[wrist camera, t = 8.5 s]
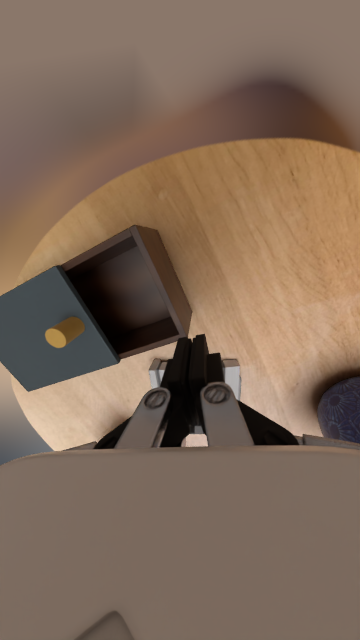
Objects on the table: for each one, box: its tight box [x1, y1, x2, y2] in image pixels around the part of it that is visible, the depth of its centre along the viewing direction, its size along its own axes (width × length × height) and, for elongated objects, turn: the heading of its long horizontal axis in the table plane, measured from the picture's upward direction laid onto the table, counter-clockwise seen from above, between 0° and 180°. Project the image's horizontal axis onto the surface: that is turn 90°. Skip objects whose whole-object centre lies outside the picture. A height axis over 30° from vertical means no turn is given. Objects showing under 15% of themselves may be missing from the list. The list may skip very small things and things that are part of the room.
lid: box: [0, 265, 120, 392], centre depth 23 cm, size 14×18×4 cm
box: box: [60, 225, 192, 359], centre depth 26 cm, size 14×18×9 cm
